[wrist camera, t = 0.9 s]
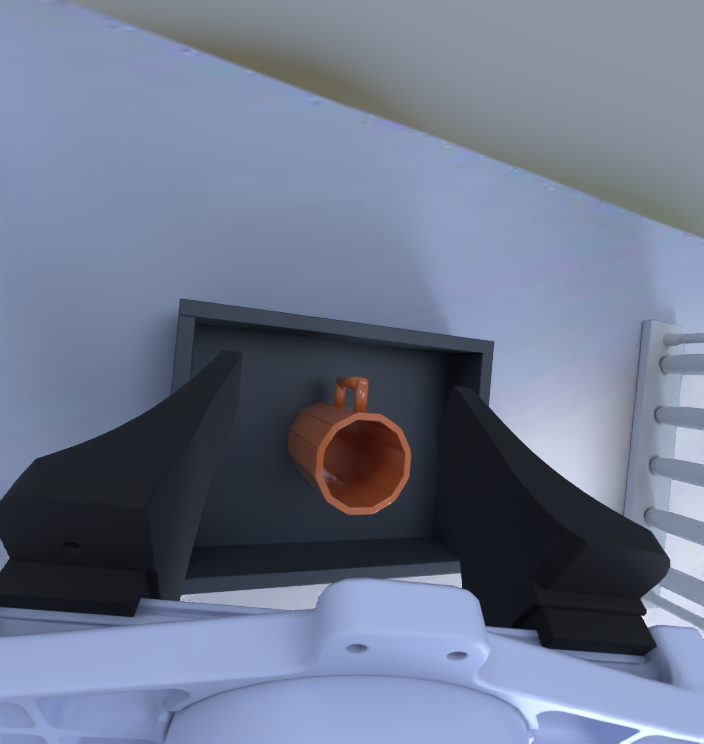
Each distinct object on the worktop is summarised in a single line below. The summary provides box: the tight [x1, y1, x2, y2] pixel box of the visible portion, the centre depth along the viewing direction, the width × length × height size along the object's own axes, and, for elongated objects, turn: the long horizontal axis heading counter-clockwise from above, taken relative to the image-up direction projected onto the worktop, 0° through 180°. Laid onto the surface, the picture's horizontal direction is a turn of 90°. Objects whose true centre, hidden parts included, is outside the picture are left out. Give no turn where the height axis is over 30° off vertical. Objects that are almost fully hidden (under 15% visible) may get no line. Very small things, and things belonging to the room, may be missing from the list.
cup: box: [287, 376, 411, 515], centre depth 24 cm, size 7×5×7 cm
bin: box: [171, 299, 494, 595], centre depth 26 cm, size 15×19×4 cm
